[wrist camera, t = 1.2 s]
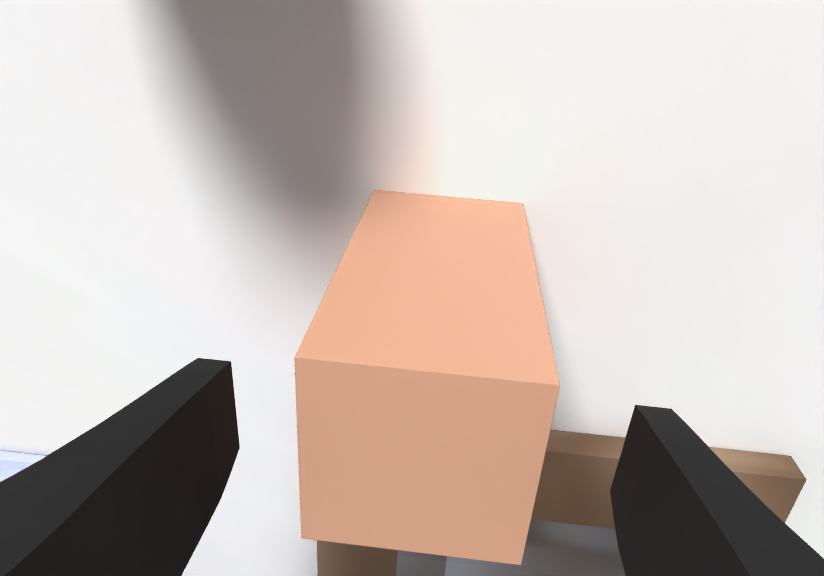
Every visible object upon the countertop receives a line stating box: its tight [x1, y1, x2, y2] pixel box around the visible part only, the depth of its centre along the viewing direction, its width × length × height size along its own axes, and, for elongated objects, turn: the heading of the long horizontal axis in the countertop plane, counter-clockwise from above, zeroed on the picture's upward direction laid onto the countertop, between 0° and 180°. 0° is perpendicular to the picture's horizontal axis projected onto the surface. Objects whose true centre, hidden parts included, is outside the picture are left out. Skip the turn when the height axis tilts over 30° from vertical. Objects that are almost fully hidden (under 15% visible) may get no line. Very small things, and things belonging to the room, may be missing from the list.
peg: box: [295, 190, 560, 565], centre depth 13 cm, size 4×4×8 cm
